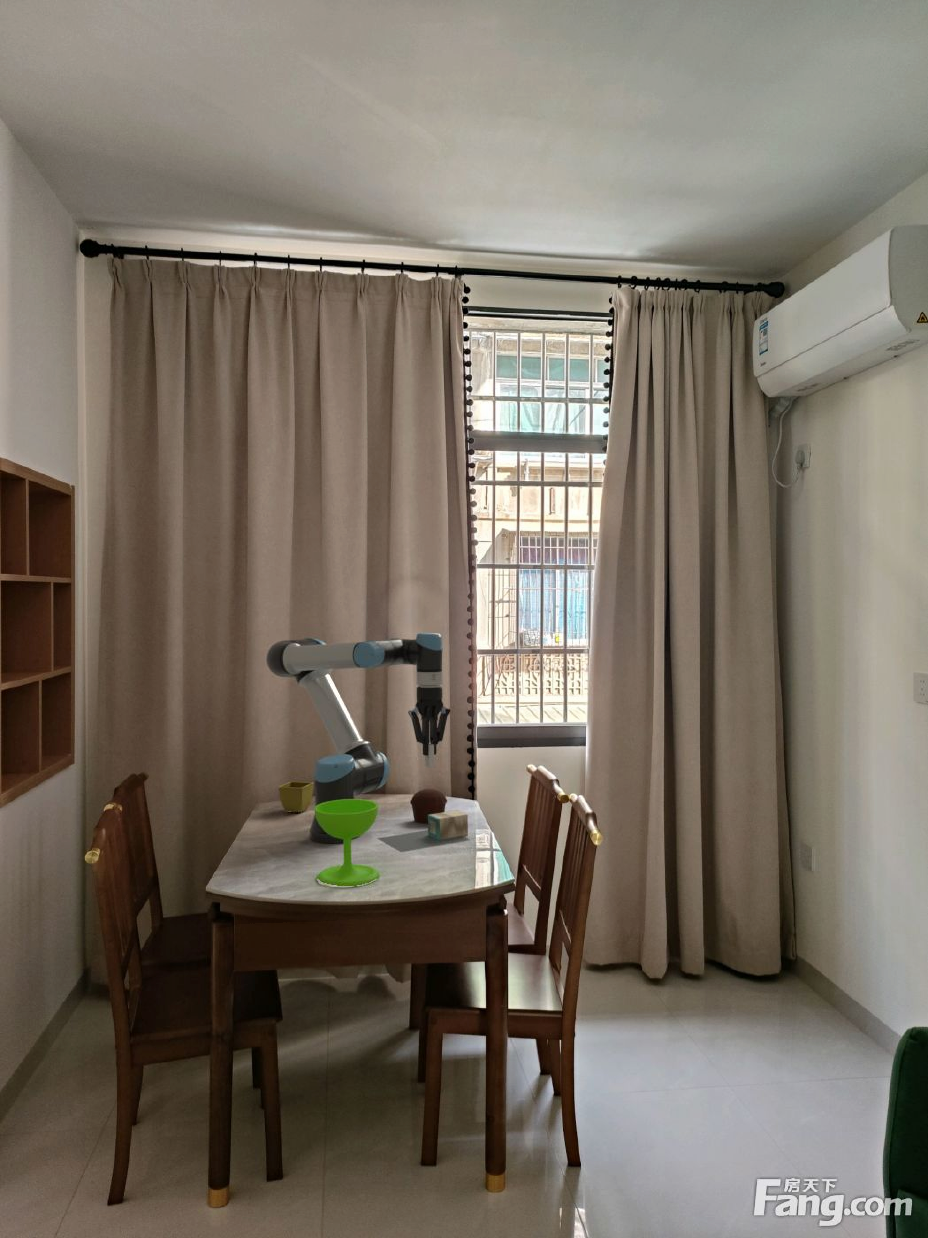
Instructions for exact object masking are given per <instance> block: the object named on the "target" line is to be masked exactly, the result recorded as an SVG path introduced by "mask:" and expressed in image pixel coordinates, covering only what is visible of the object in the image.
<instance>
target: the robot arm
mask: <svg viewBox="0 0 928 1238" xmlns="http://www.w3.org/2000/svg"><path fill="white" fill-rule="evenodd" d="M443 649H444V647H443V638H442V634H440V633H437V632H419V633H417V635H416V638H415V639H409V638H406V639H405V638H398V637H397V638H396V637H395V638H387V639H385V640H373V641H372V640H366V641H361V642H360V641H356V642H355V641H353V642H343V643H342V642H341V643H326V642H324V641H323V640H321V639H317V638H310V637H308V638H303V639H286V640H280V641H277V642H275V643H274V644H273V645H272V646H271V647H269V649H268V651H267V654H266V664H267V667H268V669H269V671H270V672H271V673H273V674H274V675H276V676H278V677H281V678H293V677H294V678H295V681H296V683H297V684H298V686H299V687H301V688H304V689H305V690H306V691H307V693H308V695H309V697H310V699H311V701H312V703H313V705H314V707H315V709H316V711H317V712H318V715H319V718H320V719H321V721H322V722H323V725H324V727H325V729H326V731H327V733H328V735H329V737H330V740H331V741H332V743H333V744H334V747H335V749H336V751H337V752H338V754H334V755H332V754H331V755H328V756H323V757H322V758H320V759H319V760H317V762H316V763H315V765H314V774H313V778H314V800H315V802H314V803H315V805H314V807H315V806H317V805H319V804H321V803H324V802H328V801H334V800H343V799H356V796H360V795H363V794H366V793H368V792H374V791H376V790H377V789H380V788H382V787H383V786H384V785H386V782H387V781H388V778H389V774H390V764H389V760H388V758H387V757H386V755H385V754H384V753H383V752H380V751H378V750H374V749H375V748H374V747H373V745H372V744H371V743H372V742H370V741H368V740H364V739H363V737H362V735H361V732H360V731H359V730H358V727H357V725H356V723H355V721H354V719H353V718H352V715H351V713H350V712H349V709H348V708H347V706H346V704H345V702H344V700H343V698H342V696H341V695H340V693H339V690H338V688H337V686H336V685H335V682H334V680H333V679H332V676H331V674H332V672H333V670H342V669H343V670H345V669H375V668H382V667H390V666H397V665H398V666H399V665H407V666H408V665H412V666H413V665H415V666H416V685H417V687H416V703H415V705H414V706H415V707H414V708H413V709H412V710H409V711H408V712H407V713H408V715H409V717H410V719H411V722H412V723H411V724H412V727H413V732H414V735H415V739H416V742H417V743H419V744H421V745H422V754H423V756H424V759H425V760H424V765H425V766H426V767H427V768H434V767H435V756H436V755H437V745H438V744H439V743H440V742H442V741H443V739H444V734H445V730H446V725H447V721H448V716H449V715H450V714H451V708H448V707H445V706H444V703H443V687H442V684H443ZM439 714H440V715H439ZM419 716H420V718H419ZM420 720H421V723H420ZM310 826H311V827H310V828H309V839H310V840H311V841H313V842H315V843H322V844H340V843H343V839H340V838H335V837H333V836H331V835H329V834H328V833H326V832H325V831H324V830H323V829H322V827H321V826H320V825H319V823H318V821H317V819H316V816H315V814H314V816H313V818H312V821H311V825H310ZM360 837H361V836H358V837H355V838H352V839H351V841H352V840H355V839H358V838H360Z"/></svg>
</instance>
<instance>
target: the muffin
mask: <svg viewBox="0 0 928 1238" xmlns="http://www.w3.org/2000/svg"><path fill="white" fill-rule="evenodd" d="M409 801H410V802H409V803H410V804H411V809H412V814H413V821H414V822H416V824H423V825H428V815H430V814H437V813H443V812H446V811H445V810H446V804H447V803H448V799H447V798H446V796H445V794H443V792H440V791H439V790H437V789H433V788H426V789H422V790H421V789H420V790H419V791H417V792H415V793H414V794H413V796H412V798H411V800H409Z"/></svg>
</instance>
